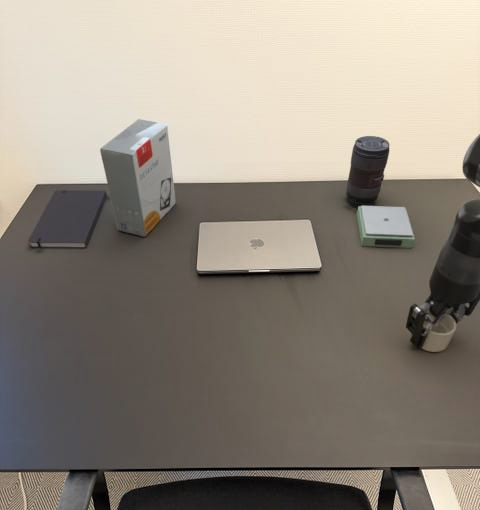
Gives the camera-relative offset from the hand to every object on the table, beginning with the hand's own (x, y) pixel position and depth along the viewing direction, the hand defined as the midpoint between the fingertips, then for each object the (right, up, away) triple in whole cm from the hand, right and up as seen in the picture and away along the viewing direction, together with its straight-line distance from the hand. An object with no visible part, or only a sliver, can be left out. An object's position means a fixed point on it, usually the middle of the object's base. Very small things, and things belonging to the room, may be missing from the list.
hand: (431, 338), depth 84 cm
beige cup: (0, 0, 0) cm, 1 cm away
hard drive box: (-56, +28, +28) cm, 69 cm away
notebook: (-74, +27, +27) cm, 84 cm away
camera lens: (-5, +32, +32) cm, 46 cm away
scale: (-1, +24, +23) cm, 33 cm away
